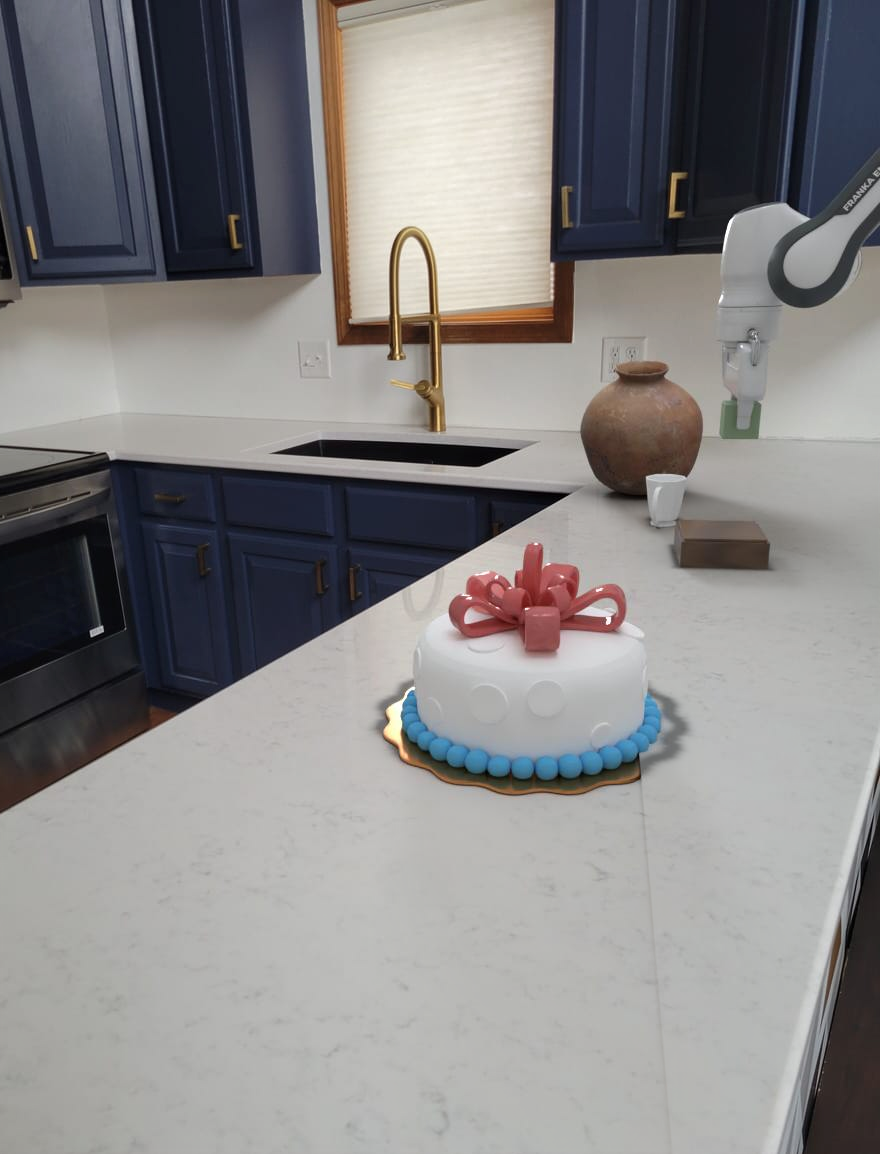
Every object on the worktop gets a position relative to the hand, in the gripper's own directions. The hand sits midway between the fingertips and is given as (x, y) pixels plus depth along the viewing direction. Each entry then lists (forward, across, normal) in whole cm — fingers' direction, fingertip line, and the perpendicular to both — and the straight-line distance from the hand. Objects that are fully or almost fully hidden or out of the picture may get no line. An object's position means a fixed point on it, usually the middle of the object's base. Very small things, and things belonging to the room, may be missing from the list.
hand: (739, 425), depth 142 cm
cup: (+19, +14, +10) cm, 26 cm away
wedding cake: (+19, -67, +26) cm, 74 cm away
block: (+2, 0, 0) cm, 2 cm away
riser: (+19, -7, +2) cm, 21 cm away
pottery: (+19, +42, +13) cm, 47 cm away
